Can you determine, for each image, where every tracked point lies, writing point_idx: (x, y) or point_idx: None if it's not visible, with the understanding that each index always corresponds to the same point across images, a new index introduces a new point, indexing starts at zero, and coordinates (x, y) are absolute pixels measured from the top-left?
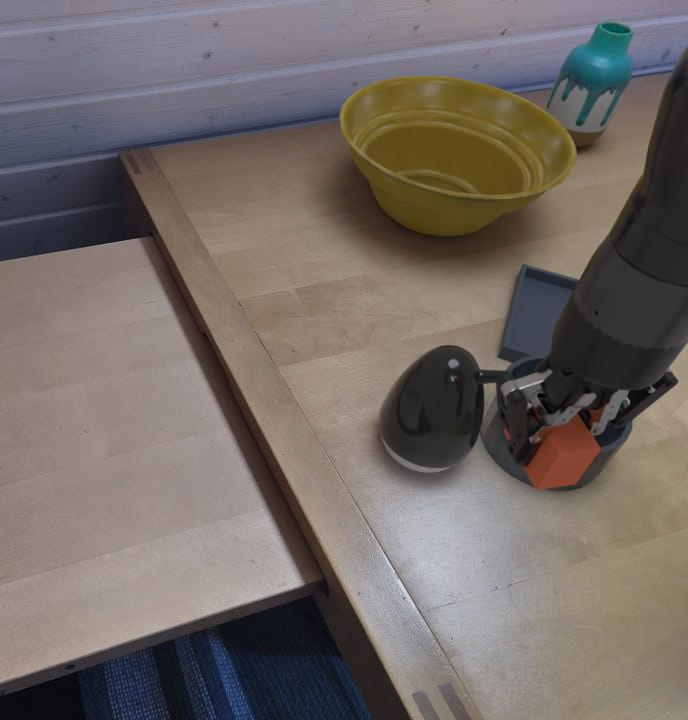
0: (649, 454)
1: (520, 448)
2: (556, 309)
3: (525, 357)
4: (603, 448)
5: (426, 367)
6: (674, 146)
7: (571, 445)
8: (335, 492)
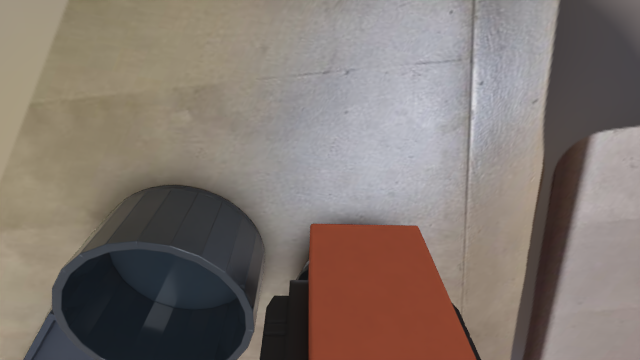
0: (36, 214)
1: (476, 351)
2: None
3: None
4: (125, 247)
5: None
6: None
7: None
8: (481, 229)
